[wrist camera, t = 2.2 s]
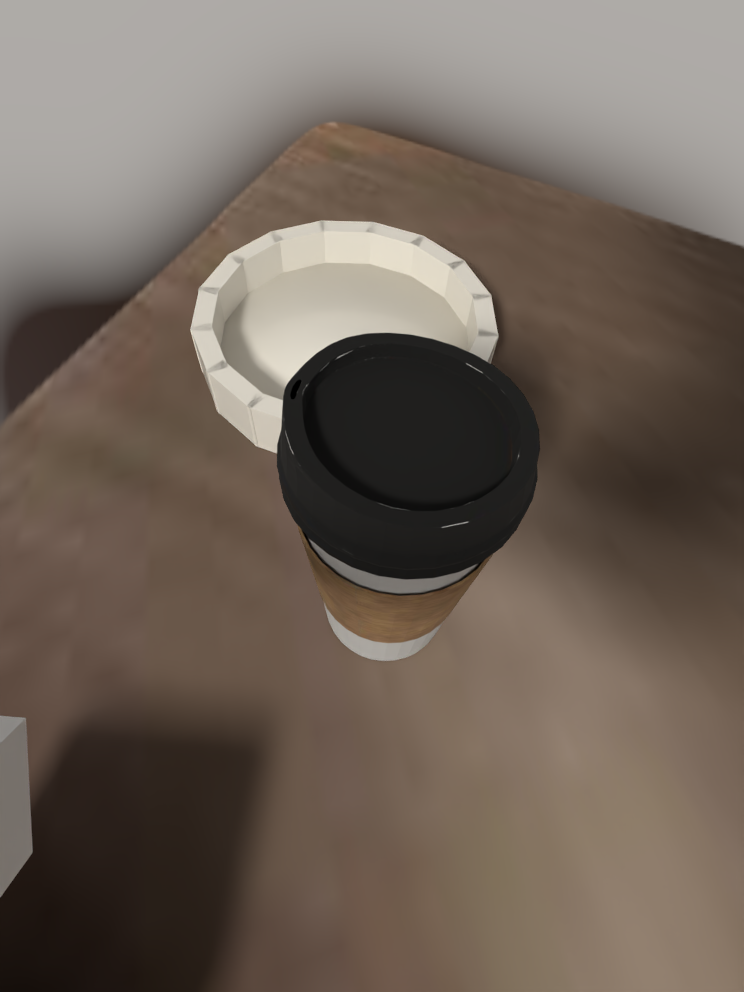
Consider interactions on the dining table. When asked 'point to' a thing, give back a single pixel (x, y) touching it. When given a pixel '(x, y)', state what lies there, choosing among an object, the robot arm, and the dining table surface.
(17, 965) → the dining table surface
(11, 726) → the robot arm
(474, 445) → the coffee cup
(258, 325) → the serving bowl
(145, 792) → the dining table surface
